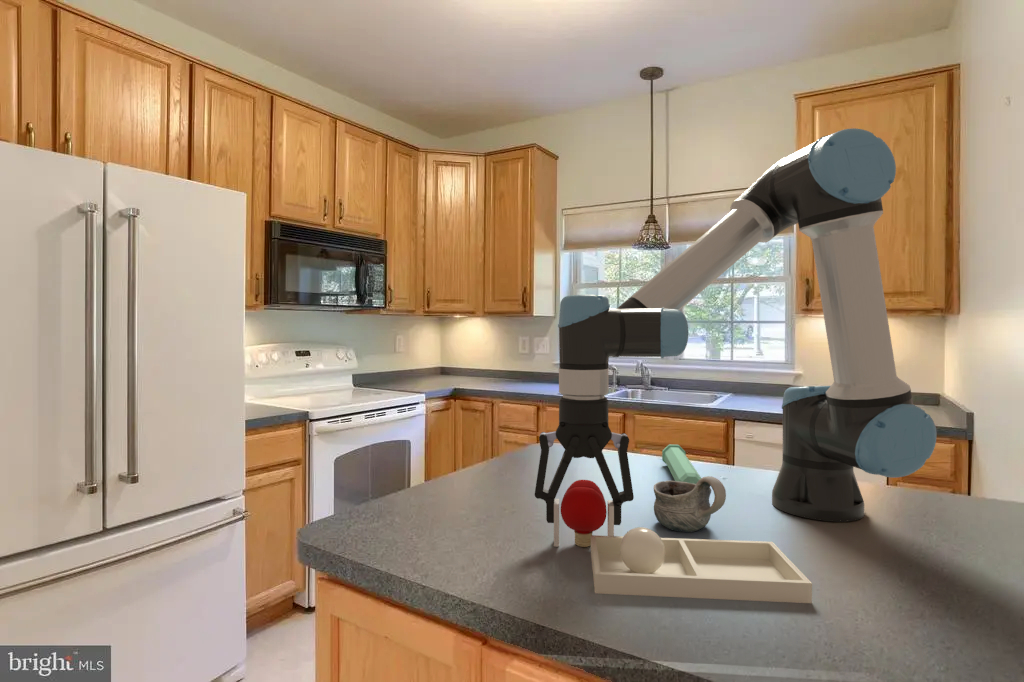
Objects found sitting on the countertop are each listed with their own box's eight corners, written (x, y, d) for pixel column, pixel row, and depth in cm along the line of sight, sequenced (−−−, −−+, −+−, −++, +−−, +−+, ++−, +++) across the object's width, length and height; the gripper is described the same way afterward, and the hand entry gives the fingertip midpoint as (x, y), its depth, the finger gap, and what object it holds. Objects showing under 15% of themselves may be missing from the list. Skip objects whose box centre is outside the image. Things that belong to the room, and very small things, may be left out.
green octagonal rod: (700, 467, 110) (680, 440, 135) (672, 477, 111) (657, 448, 136) (712, 495, 110) (689, 462, 135) (683, 504, 111) (666, 470, 136)
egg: (660, 563, 78) (661, 521, 78) (668, 583, 72) (668, 537, 72) (617, 562, 78) (617, 520, 78) (622, 581, 72) (622, 536, 72)
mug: (671, 515, 100) (671, 460, 100) (740, 533, 91) (740, 473, 91) (642, 528, 93) (642, 469, 93) (713, 550, 84) (713, 485, 84)
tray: (772, 562, 80) (772, 541, 79) (811, 607, 67) (812, 583, 67) (590, 555, 82) (590, 535, 82) (594, 597, 69) (594, 574, 69)
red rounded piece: (605, 562, 80) (605, 494, 79) (557, 558, 81) (557, 491, 81) (607, 538, 89) (607, 477, 88) (564, 535, 90) (564, 474, 90)
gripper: (648, 393, 87) (647, 537, 87) (519, 392, 89) (519, 532, 90) (655, 400, 79) (655, 556, 80) (514, 398, 82) (515, 551, 82)
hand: (583, 543), depth 85 cm, fingers open, 8 cm apart
